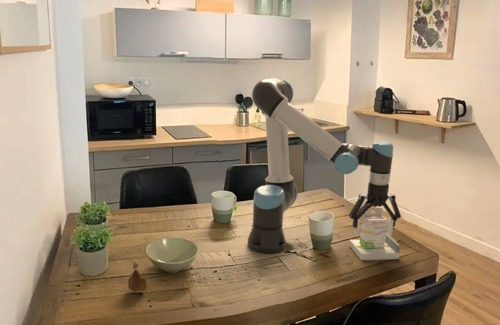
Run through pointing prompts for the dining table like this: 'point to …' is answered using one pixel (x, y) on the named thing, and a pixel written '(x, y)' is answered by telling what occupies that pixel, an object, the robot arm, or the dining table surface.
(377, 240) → the ink box
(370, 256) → the dock
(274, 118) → the robot arm
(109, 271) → the dining table surface
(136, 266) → the brown pointed lump
